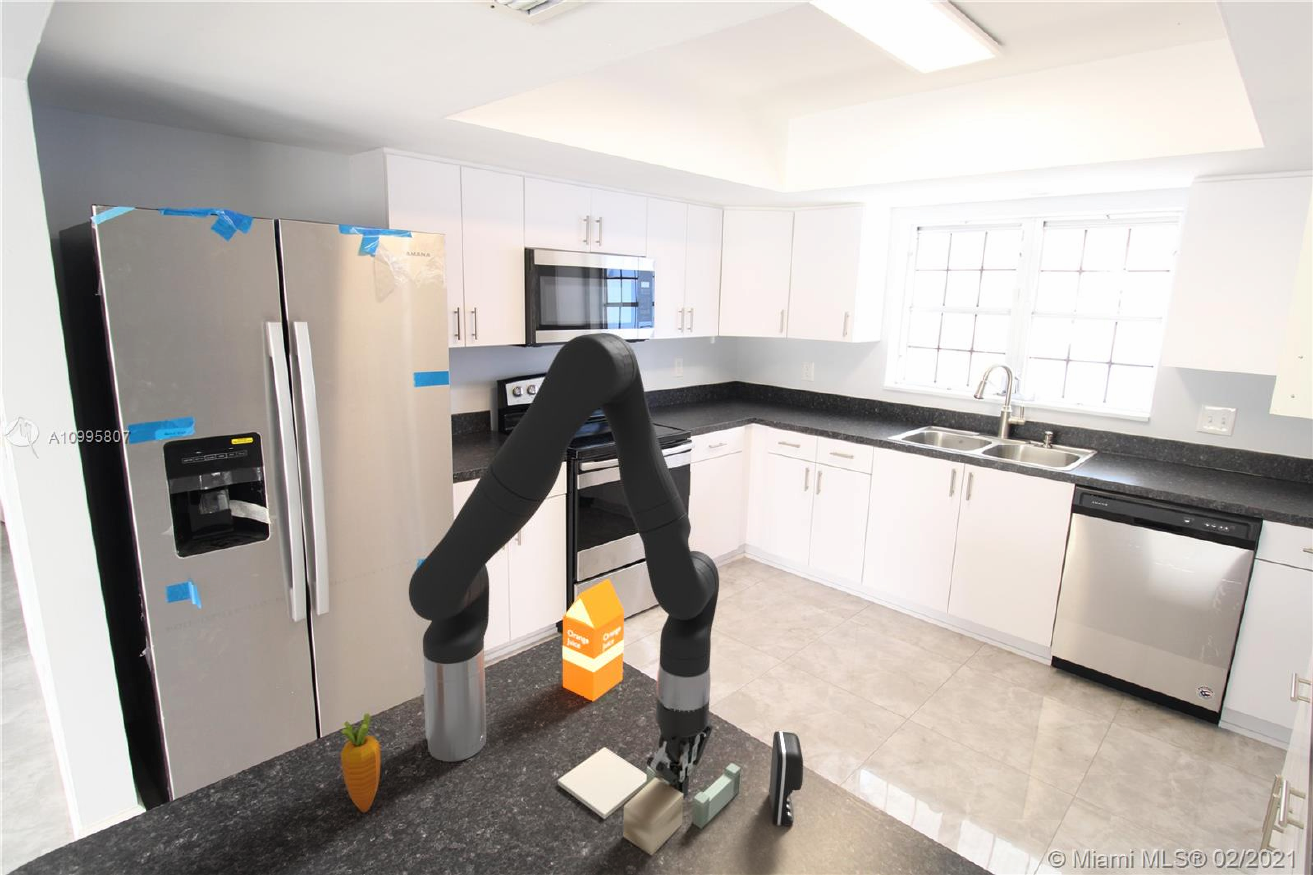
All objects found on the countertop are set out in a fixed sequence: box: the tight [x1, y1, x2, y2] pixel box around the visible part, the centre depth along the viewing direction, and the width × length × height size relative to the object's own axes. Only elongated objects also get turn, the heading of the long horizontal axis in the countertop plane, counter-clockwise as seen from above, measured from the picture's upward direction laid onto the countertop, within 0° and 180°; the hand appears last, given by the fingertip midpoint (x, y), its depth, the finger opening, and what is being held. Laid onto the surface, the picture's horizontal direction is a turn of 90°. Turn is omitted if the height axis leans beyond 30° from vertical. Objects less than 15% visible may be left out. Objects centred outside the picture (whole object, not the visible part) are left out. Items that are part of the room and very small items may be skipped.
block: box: [622, 777, 684, 857], centre depth 92 cm, size 5×7×5 cm
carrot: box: [340, 713, 381, 813], centre depth 93 cm, size 5×5×15 cm
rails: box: [646, 762, 741, 829], centre depth 100 cm, size 10×10×4 cm
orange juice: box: [562, 578, 625, 702], centre depth 124 cm, size 8×9×20 cm
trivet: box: [557, 746, 647, 820], centre depth 101 cm, size 10×10×1 cm
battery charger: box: [768, 730, 804, 826], centre depth 96 cm, size 7×4×11 cm, turn 175°
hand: (678, 796), depth 97 cm, fingers closed
